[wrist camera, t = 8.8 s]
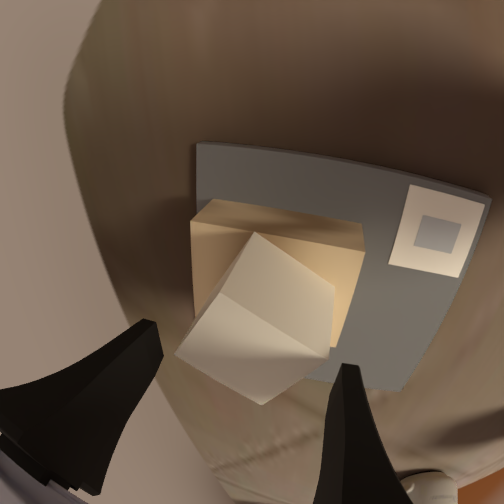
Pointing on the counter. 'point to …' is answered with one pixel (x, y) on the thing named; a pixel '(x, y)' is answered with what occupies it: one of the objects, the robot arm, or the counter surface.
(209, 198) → the board
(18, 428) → the robot arm
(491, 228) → the counter surface
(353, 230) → the oak base brick
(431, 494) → the teacup
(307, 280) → the cream cube
